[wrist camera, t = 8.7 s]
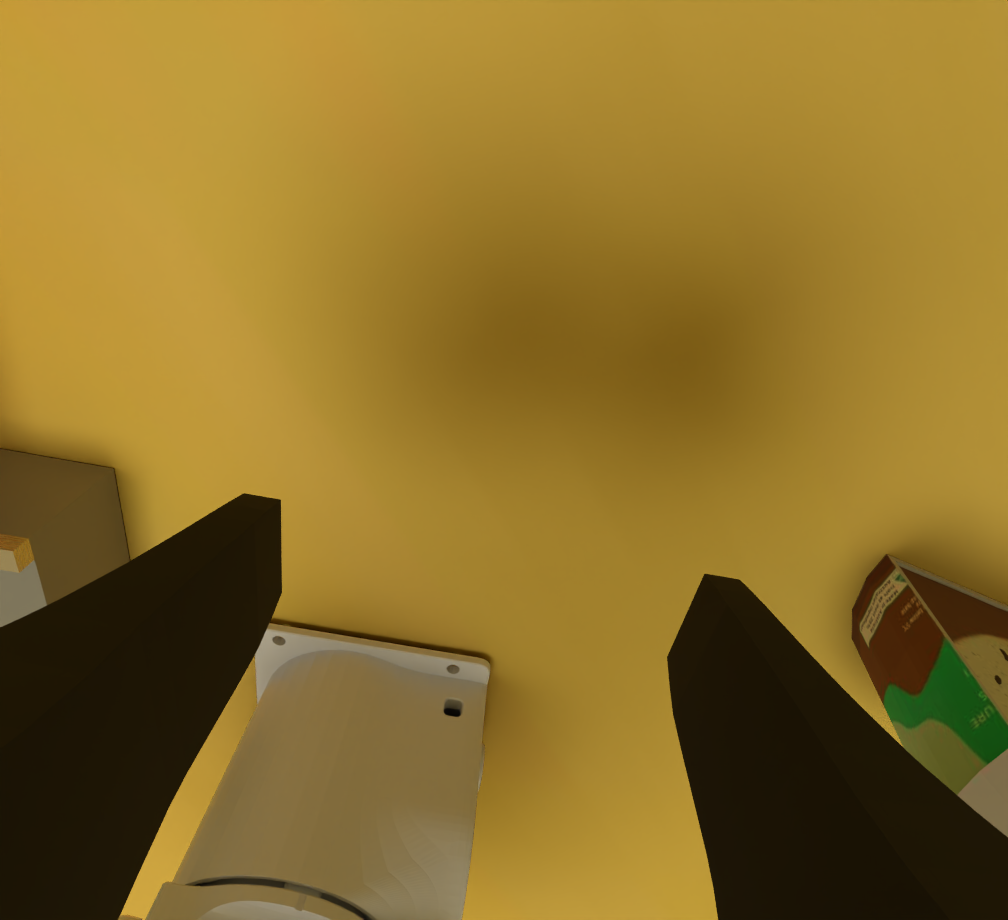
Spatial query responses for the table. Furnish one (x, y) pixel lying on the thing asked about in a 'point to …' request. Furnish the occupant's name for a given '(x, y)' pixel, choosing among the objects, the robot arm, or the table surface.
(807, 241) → the table surface
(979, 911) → the robot arm
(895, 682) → the food container
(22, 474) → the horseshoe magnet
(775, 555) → the table surface
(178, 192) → the table surface
